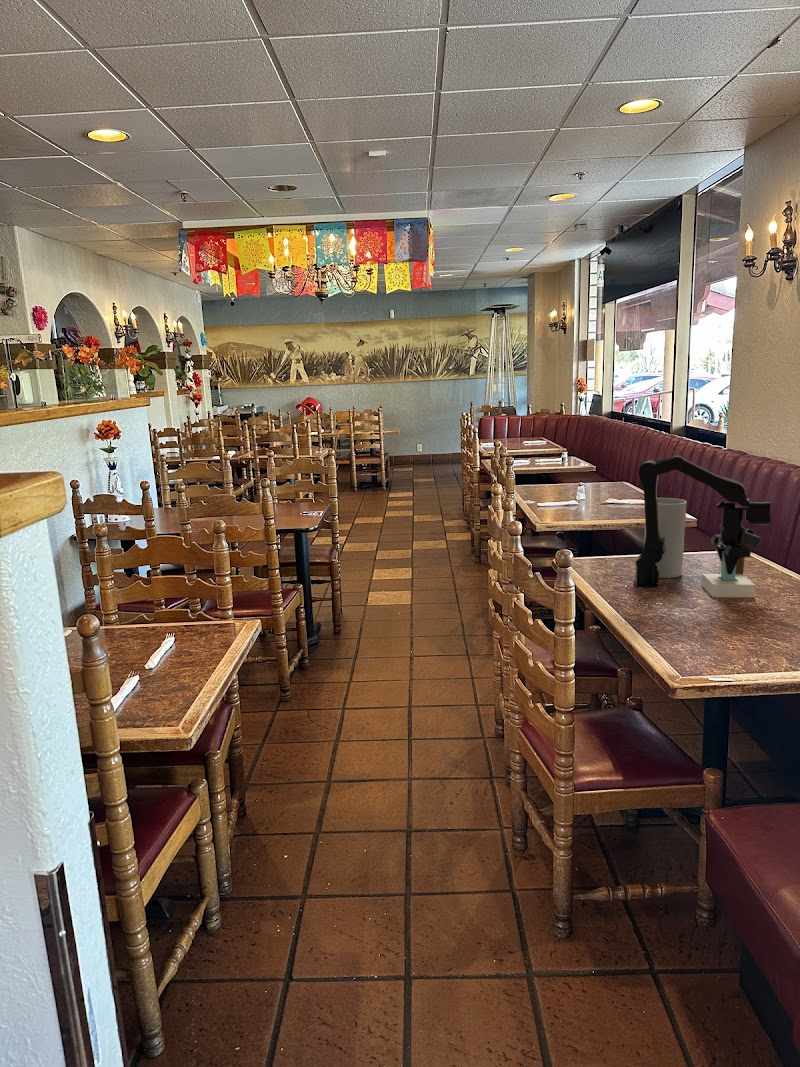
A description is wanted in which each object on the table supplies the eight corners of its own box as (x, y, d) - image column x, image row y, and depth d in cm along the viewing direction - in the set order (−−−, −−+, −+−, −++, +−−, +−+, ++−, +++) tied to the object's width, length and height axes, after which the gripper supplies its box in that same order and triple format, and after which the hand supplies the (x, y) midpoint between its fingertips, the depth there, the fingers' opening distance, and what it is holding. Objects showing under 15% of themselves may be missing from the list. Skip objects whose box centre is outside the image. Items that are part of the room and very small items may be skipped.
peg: (723, 582, 224) (726, 553, 222) (720, 579, 227) (722, 551, 225) (734, 582, 224) (737, 553, 222) (731, 579, 227) (733, 551, 225)
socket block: (712, 596, 221) (713, 584, 220) (701, 585, 233) (702, 573, 232) (754, 597, 220) (755, 584, 219) (741, 586, 231) (741, 574, 231)
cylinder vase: (677, 569, 253) (681, 497, 247) (685, 579, 241) (690, 504, 235) (639, 568, 255) (643, 497, 249) (646, 578, 242) (650, 504, 237)
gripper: (771, 529, 212) (766, 581, 215) (749, 517, 230) (745, 565, 233) (730, 529, 213) (726, 581, 216) (712, 517, 231) (708, 564, 235)
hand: (728, 572), depth 225 cm, fingers closed on peg, 3 cm apart
